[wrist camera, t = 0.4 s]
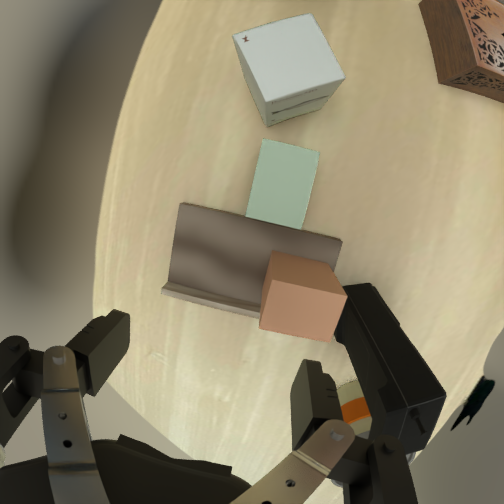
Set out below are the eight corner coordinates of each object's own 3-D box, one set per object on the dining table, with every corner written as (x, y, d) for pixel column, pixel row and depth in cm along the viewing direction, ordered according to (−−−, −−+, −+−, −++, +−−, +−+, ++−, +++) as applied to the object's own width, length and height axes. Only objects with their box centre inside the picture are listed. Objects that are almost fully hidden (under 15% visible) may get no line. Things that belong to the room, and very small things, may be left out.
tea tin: (252, 205, 35) (245, 216, 25) (265, 148, 33) (263, 138, 23) (294, 215, 35) (303, 230, 25) (308, 159, 33) (322, 152, 23)
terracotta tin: (272, 250, 35) (272, 279, 25) (328, 263, 35) (347, 296, 25) (262, 289, 36) (258, 330, 26) (315, 301, 36) (329, 344, 26)
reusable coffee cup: (313, 425, 44) (321, 493, 29) (323, 373, 41) (338, 449, 26) (379, 419, 43) (400, 480, 29) (397, 367, 40) (431, 432, 25)
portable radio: (372, 331, 38) (443, 469, 14) (332, 337, 39) (377, 491, 15) (374, 281, 36) (475, 409, 12) (331, 287, 37) (398, 437, 13)
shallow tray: (183, 202, 35) (173, 205, 32) (339, 239, 35) (347, 246, 31) (170, 282, 38) (160, 293, 35) (315, 316, 38) (319, 331, 34)
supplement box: (265, 129, 32) (262, 104, 20) (243, 77, 31) (229, 32, 19) (322, 110, 31) (348, 79, 19) (299, 59, 30) (311, 10, 18)
